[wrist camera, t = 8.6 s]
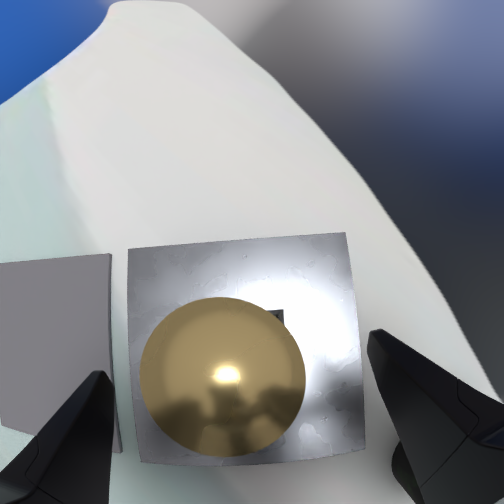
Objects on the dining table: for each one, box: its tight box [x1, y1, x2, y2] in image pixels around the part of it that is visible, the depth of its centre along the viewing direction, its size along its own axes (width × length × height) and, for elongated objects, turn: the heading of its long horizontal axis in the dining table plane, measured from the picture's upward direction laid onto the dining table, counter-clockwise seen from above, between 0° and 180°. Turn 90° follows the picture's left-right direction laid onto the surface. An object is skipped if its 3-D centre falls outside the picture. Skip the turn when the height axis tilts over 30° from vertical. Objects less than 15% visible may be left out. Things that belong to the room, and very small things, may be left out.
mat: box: [0, 253, 122, 453], centre depth 19 cm, size 14×12×1 cm
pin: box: [139, 297, 306, 457], centre depth 12 cm, size 3×3×14 cm
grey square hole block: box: [127, 232, 365, 466], centre depth 17 cm, size 12×12×4 cm
